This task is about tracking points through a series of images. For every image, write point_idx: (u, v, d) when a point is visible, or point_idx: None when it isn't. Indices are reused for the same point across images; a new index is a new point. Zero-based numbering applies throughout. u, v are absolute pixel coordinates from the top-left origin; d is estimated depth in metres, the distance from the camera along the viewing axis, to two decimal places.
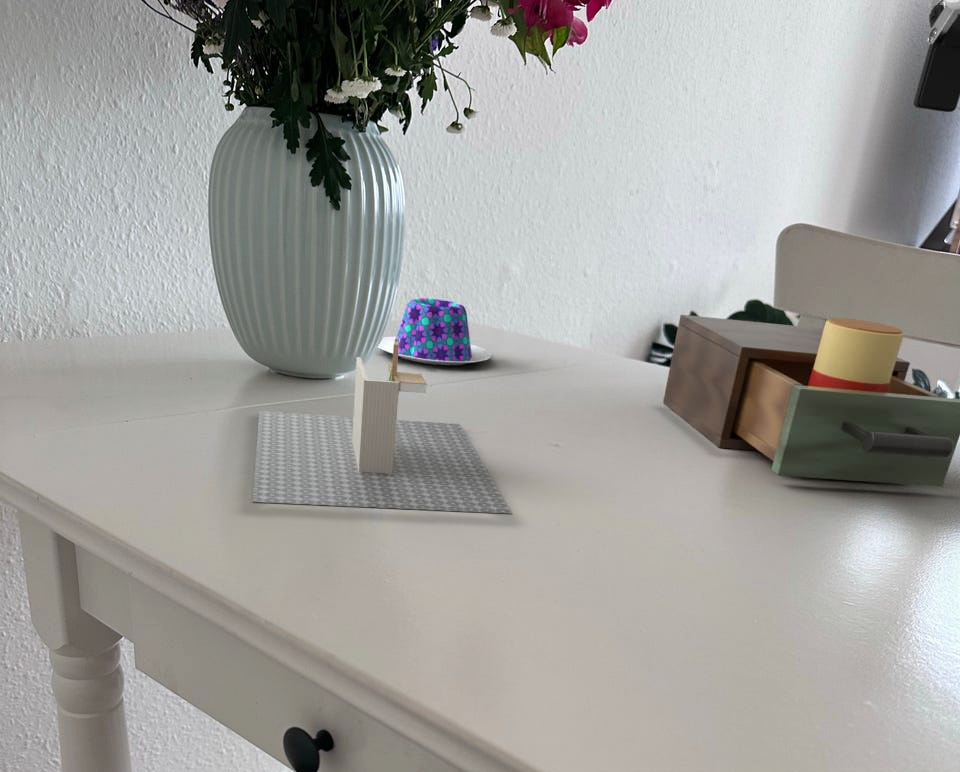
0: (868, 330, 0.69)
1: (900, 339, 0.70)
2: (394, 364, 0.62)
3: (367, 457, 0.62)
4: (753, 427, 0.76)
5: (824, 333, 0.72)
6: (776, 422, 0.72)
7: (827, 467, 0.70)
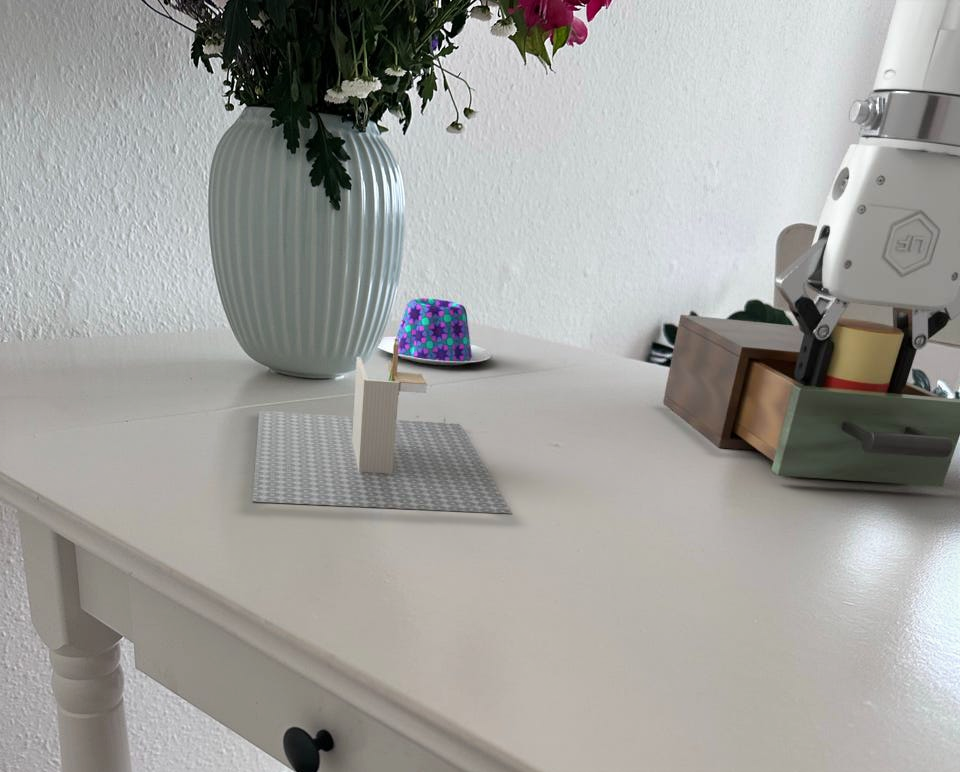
0: (868, 330, 0.69)
1: (900, 339, 0.70)
2: (394, 364, 0.62)
3: (367, 457, 0.62)
4: (753, 427, 0.76)
5: None
6: (776, 422, 0.72)
7: (827, 467, 0.70)
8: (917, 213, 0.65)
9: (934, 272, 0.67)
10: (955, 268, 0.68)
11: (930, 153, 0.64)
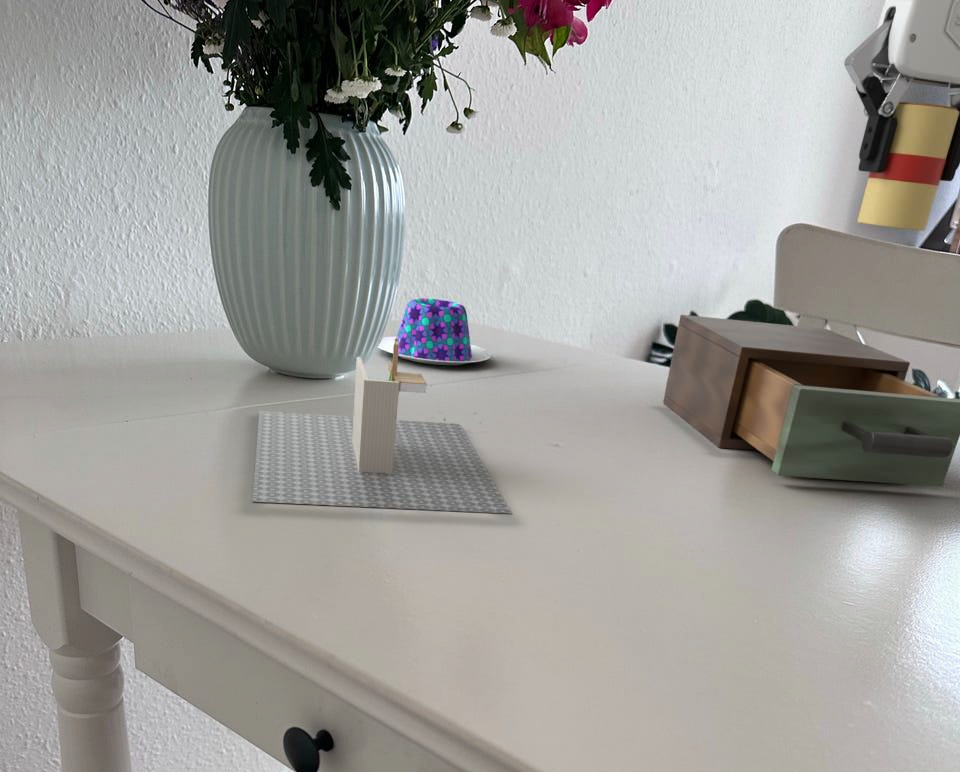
0: (929, 105, 0.77)
1: (957, 115, 0.78)
2: (394, 364, 0.62)
3: (367, 457, 0.62)
4: (753, 427, 0.76)
5: None
6: (776, 422, 0.72)
7: (827, 467, 0.70)
8: None
9: None
10: None
11: None
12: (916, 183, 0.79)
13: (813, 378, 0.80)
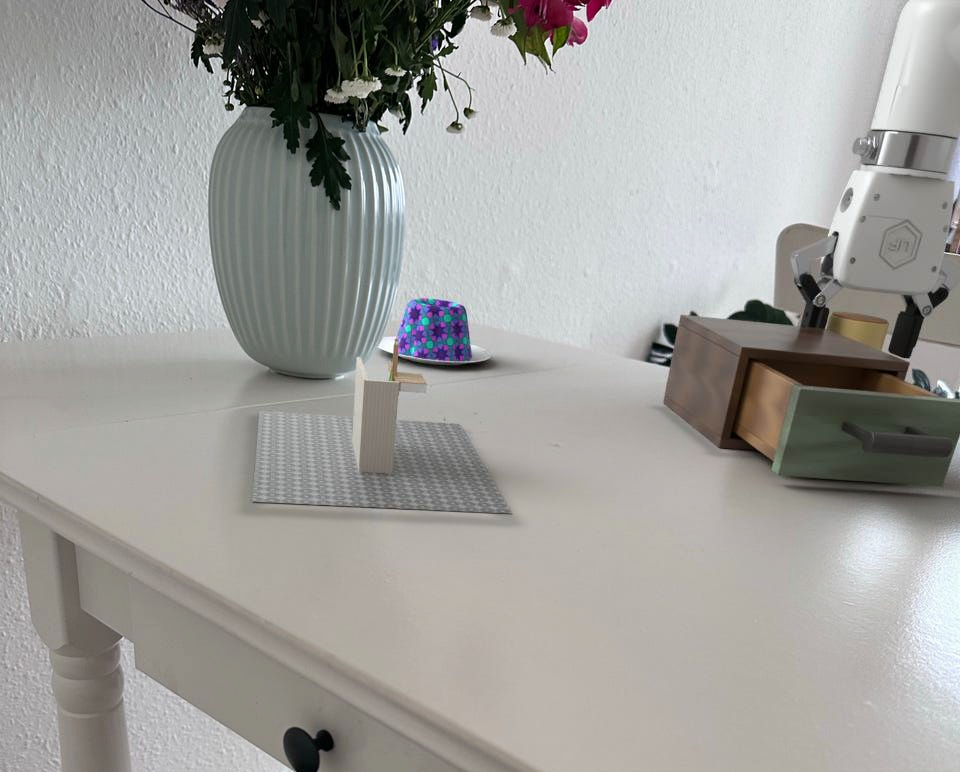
0: (862, 320, 0.91)
1: (886, 328, 0.92)
2: (394, 364, 0.62)
3: (367, 457, 0.62)
4: (753, 427, 0.76)
5: (828, 323, 0.94)
6: (776, 422, 0.72)
7: (827, 467, 0.70)
8: (904, 222, 0.87)
9: (918, 266, 0.89)
10: (934, 263, 0.89)
11: (913, 177, 0.85)
12: None
13: (813, 378, 0.80)
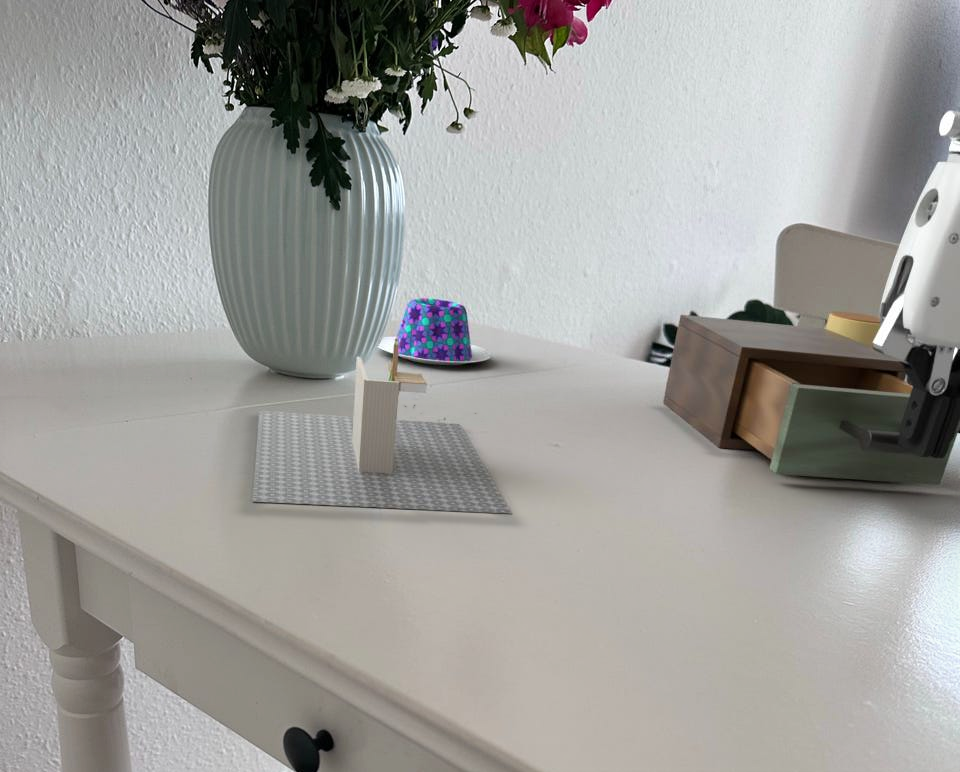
0: (862, 320, 0.91)
1: None
2: (394, 364, 0.62)
3: (367, 457, 0.62)
4: (751, 426, 0.76)
5: (828, 323, 0.94)
6: (774, 421, 0.72)
7: (825, 466, 0.71)
8: None
9: None
10: None
11: None
12: None
13: (811, 377, 0.81)
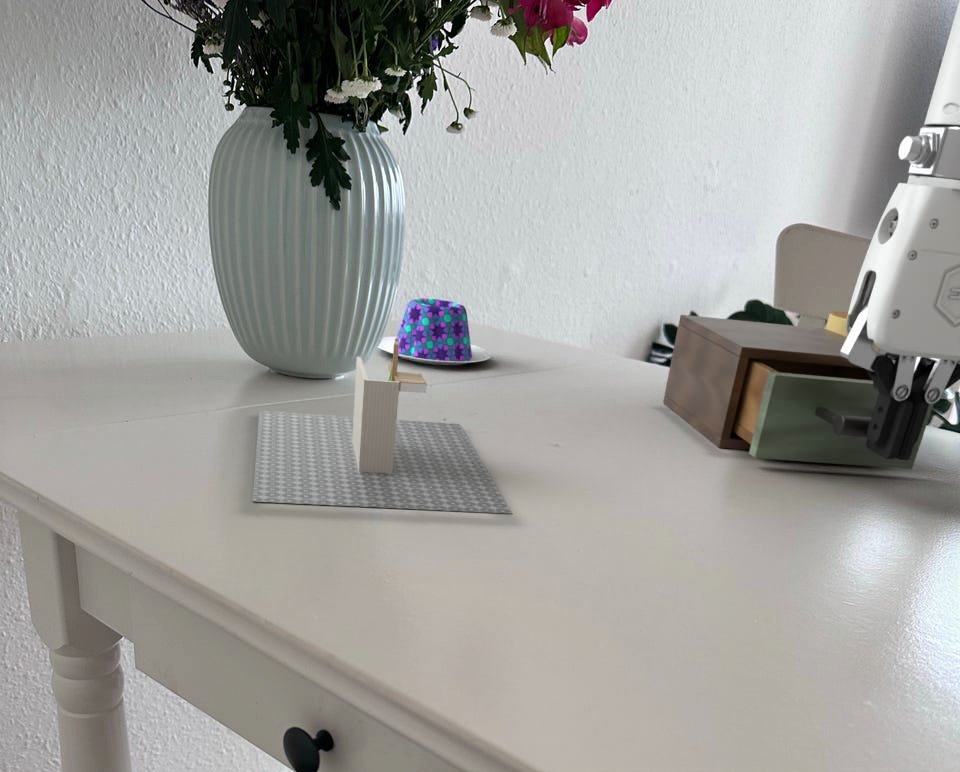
0: None
1: None
2: (394, 364, 0.62)
3: (367, 457, 0.62)
4: None
5: (828, 323, 0.94)
6: (754, 408, 0.75)
7: (802, 450, 0.74)
8: None
9: None
10: None
11: None
12: None
13: (791, 367, 0.84)
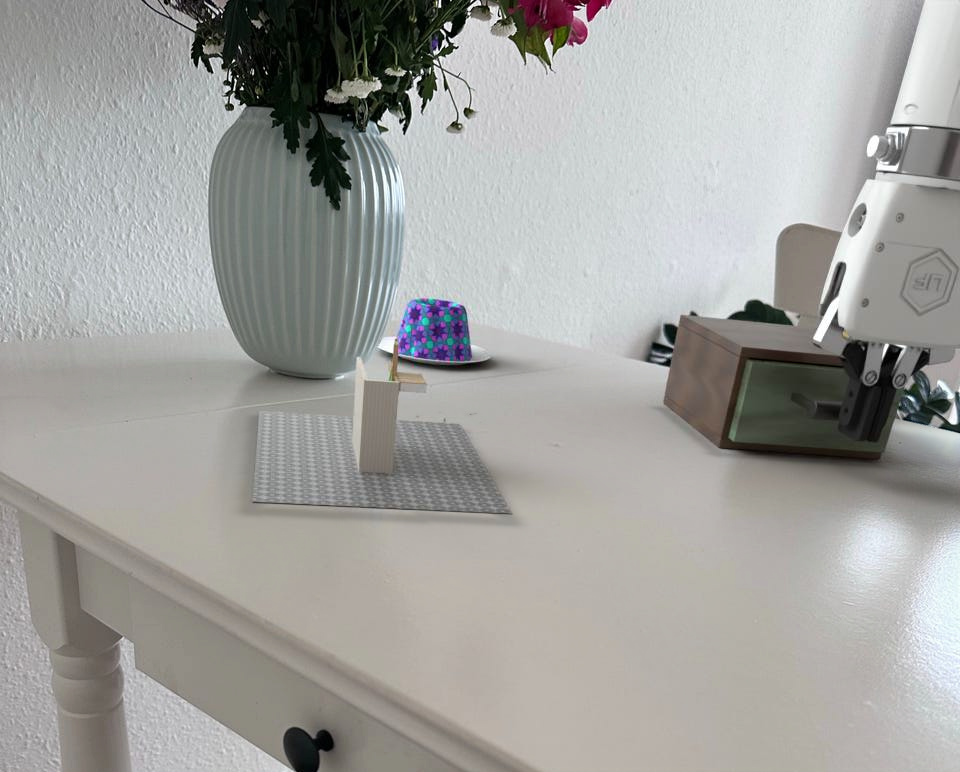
0: None
1: None
2: (394, 364, 0.62)
3: (367, 457, 0.62)
4: None
5: None
6: None
7: (778, 434, 0.78)
8: (935, 251, 0.64)
9: (952, 311, 0.66)
10: None
11: (950, 190, 0.62)
12: None
13: None
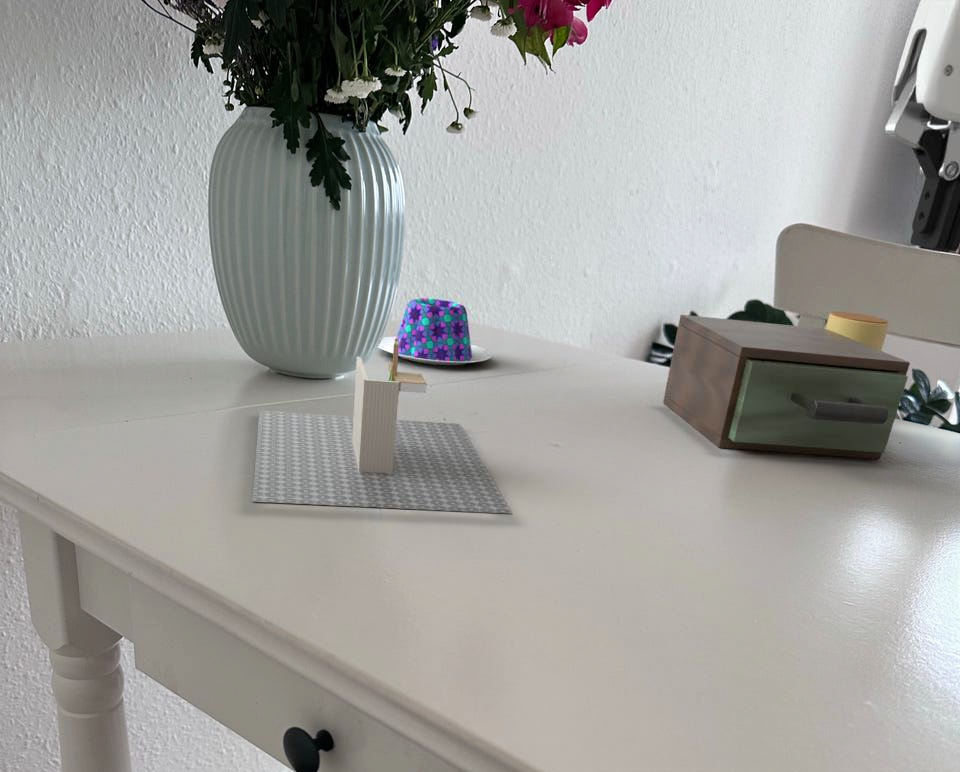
0: (862, 320, 0.91)
1: (886, 328, 0.92)
2: (394, 364, 0.62)
3: (367, 457, 0.62)
4: None
5: (828, 323, 0.94)
6: None
7: (778, 434, 0.78)
8: None
9: None
10: None
11: None
12: None
13: None
